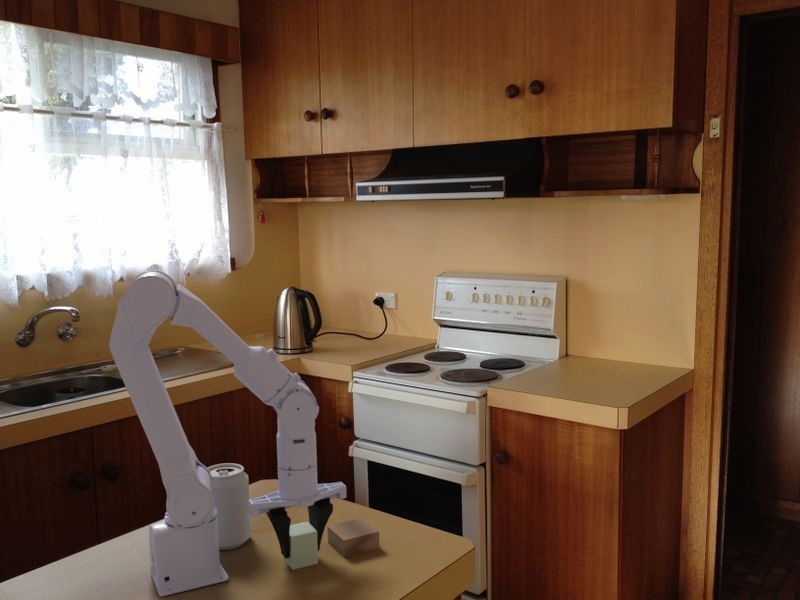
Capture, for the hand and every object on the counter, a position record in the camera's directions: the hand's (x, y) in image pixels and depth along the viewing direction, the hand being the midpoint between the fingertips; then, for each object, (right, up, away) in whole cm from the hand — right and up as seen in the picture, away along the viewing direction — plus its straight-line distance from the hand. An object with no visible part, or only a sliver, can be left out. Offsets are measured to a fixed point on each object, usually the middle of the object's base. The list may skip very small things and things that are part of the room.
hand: (300, 551), depth 111 cm
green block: (0, -1, 0) cm, 1 cm away
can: (-13, -1, +7) cm, 15 cm away
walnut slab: (+8, -1, +5) cm, 9 cm away
